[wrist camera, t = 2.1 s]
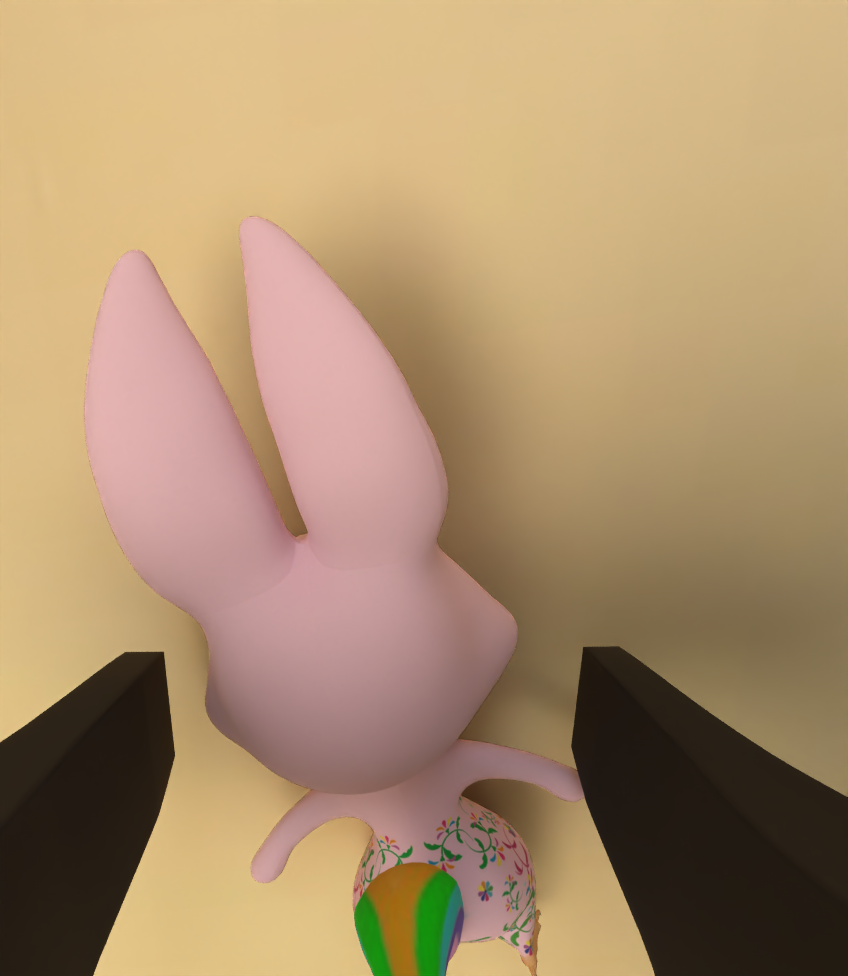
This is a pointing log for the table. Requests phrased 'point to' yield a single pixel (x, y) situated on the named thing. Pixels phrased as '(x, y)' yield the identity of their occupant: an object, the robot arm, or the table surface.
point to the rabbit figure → (322, 593)
